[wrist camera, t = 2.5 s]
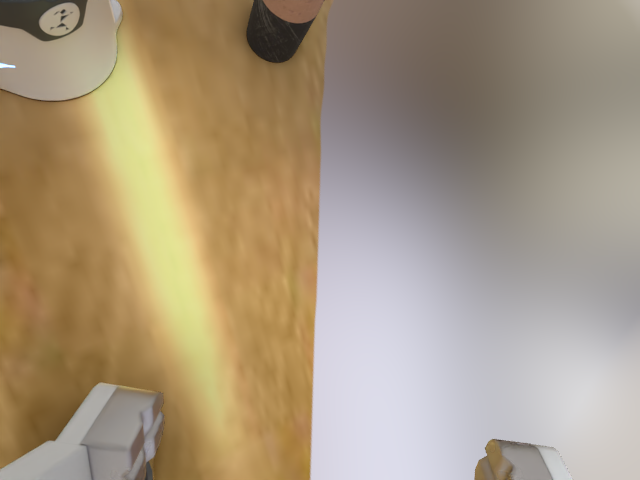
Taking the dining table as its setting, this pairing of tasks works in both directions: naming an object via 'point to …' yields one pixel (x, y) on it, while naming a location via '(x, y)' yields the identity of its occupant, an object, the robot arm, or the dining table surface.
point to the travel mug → (280, 26)
